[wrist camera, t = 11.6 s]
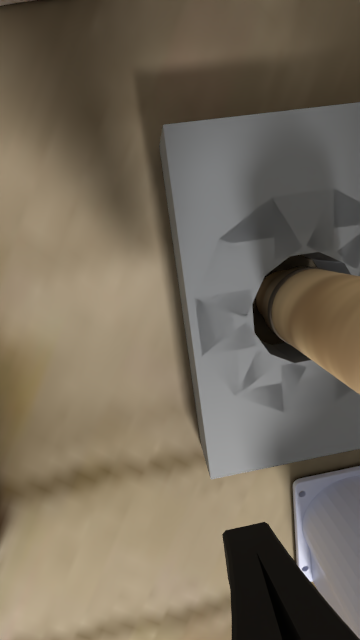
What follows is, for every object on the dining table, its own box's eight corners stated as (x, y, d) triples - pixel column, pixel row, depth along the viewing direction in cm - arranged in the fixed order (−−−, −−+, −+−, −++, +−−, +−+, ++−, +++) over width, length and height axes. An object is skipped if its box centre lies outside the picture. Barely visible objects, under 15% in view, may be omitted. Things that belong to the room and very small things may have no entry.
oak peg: (313, 324, 19) (454, 396, 11) (250, 334, 19) (342, 415, 10) (314, 258, 18) (472, 278, 10) (247, 266, 18) (347, 295, 9)
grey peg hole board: (424, 401, 22) (467, 426, 19) (201, 445, 20) (210, 479, 18) (446, 111, 17) (508, 85, 14) (159, 146, 16) (162, 124, 13)
